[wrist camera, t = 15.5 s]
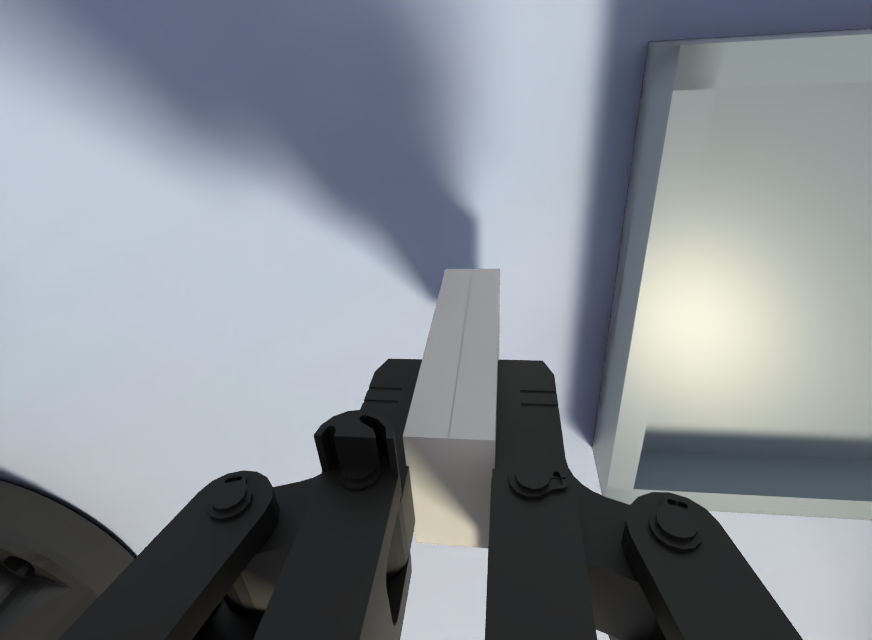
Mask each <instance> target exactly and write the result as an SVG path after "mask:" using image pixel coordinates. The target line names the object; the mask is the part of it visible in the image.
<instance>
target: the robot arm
mask: <svg viewBox="0 0 872 640" xmlns="http://www.w3.org/2000/svg"><path fill="white" fill-rule="evenodd" d="M499 327H500V269H445V272H444V276H443V280H442V284H441V288H440V292H439V296H438V300H437V304H436V308H435V311H434V315H433V319H432V323H431V327H430V331H429V335H428V339H427V343H426V347H425V351H424V355H423V359H422V360H420V359H388V360H387V361H386V362H385V363H384V364H383V365H382V366H380V367H379V368H378V369H377V370H376V371H375V373H374V375H373V378H372V381H371V383H370V386H369V390H368V391H367V394H366V396H365V399H364V403H363V404H362V407H361V409H360V410H355V411H347V412H345V413H342V414H339V415H336V416H333V417H332V418H331V419H329V420H328V421H326V422H325V423H323V424H322V425H321V426H320V427H319V429H318V430H317V431H316V433H315V434H314V439H315V443H316V447H317V451H318V455H319V459H320V463H321V467H322V474H320V475H318V476H316V477H314V478H311V479H307V480H304V481H300V482H296V483H291V484H286V485H281V486H277V487H272V485H271V483H270V482H269V480H268V478H267V477H265V476H264V475H262V474H260V473H258V472H253V471H239V472H234V473H229V474H226V475H224V476H222V477H220V478H218V479H216V480H214V481H212V482H211V483H209V484H208V485H207V486H206V487H204V488H203V489H202V490H201V491H199V492H198V493H197V495H196V496H195V497H194V498H193V499H192V500H191V501H190V502H189V503H188V504H187V505H186V506H185V507H184V508H183V509H182V510H181V511H180V512H179V513H178V514H177V515H176V516H175V517H174V519H173V520H172V521H171V522H170V523H169V524H168V525H167V526H166V527H165V528H164V529H163V530H162V531H161V532H160V533H159V534H158V535H157V536H156V537H155V538H154V539H153V540H152V541H151V543H150V544H149V545H148V546H147V547H146V548H145V549H144V550H143V551H142V552H141V553H140V554H139V555H138V556H137V557H136V558H135V559H134V558H133V557H132V555H131V554H130V553H129V552H128V551H127V550H125V549H124V548H123V547H122V546H121V545H120V544H119V543H118V542H117V541H115V540H114V539H113V538H112V537H111V536H109V535H108V534H107V533H105V532H104V531H103V530H101V529H100V528H99V527H97V526H96V525H94V524H93V523H91V522H90V521H88V520H87V519H85V518H83V517H82V516H80V515H79V514H77V513H75V512H73V511H72V510H70V509H68V508H66V507H64V506H62V505H61V504H59V503H57V502H55V501H53V500H50V499H48V498H46V497H44V496H42V495H39V494H37V493H35V492H32V491H30V490H27V489H25V488H22V487H19V486H17V485H14V484H10V483H7V482H4V481H1V480H0V640H400V636H401V631H402V625H403V619H404V613H405V607H406V601H407V596H408V590H409V584H410V578H411V572H412V569H411V555H410V548H411V542H412V537H413V532H415V540H416V543H424V544H437V545H451V546H465V547H478V548H489V549H488V575H487V601H486V627H485V640H597V636H596V629H597V630H599V631H601V632H603V633H606V634H608V635H609V638H610V640H803V639H802V638H801V636H800V635H799V633H798V632H797V631H796V629H795V628H794V626H793V625H792V624H791V622H790V621H789V619H788V618H787V617H786V615H785V614H784V612H783V611H782V610H781V608H780V607H779V605H778V604H777V603H776V601H775V600H774V598H773V597H772V596H771V594H770V593H769V592H768V590H767V589H766V587H765V586H764V585H763V583H762V582H761V580H760V579H759V578H758V576H757V575H756V573H755V572H754V571H753V569H752V568H751V566H750V565H749V564H748V562H747V561H746V559H745V558H744V557H743V555H742V554H741V552H740V551H739V550H738V548H737V547H736V545H735V544H734V543H733V541H732V540H731V539H730V537H729V536H728V534H727V533H726V532H725V530H724V529H723V527H722V526H721V525H720V523H719V522H718V521H717V520H716V519H715V518H714V517H713V516H712V515H711V514H710V513H709V512H708V511H707V510H706V509H705V508H704V507H702V506H701V505H699V504H697V503H696V502H694V501H692V500H691V499H689V498H686V497H683V496H680V495H676V494H673V493H670V492H651V493H648V494H645V495H642V496H639V497H637V498H636V499H635V500H634V501H633V502H632V503H631V504H630V505H629V504H626V503H623V502H620V501H617V500H614V499H611V498H607V497H605V496H602V495H600V494H598V493H595V492H593V491H591V490H590V489H588V488H587V487H585V486H584V485H582V484H581V483H580V482H579V481H578V480H577V479H576V478H575V477H574V476H573V474H572V473H571V471H570V470H569V468H568V465H567V462H566V459H565V452H564V445H563V437H562V430H561V422H560V415H559V408H558V400H557V394H556V386H555V378H554V374H553V373H552V372H551V370H550V369H549V368H548V367H547V366H546V364H545V363H544V362H543V361H531V360H499Z"/></svg>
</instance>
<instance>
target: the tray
mask: <svg viewBox="0 0 872 640" xmlns="http://www.w3.org/2000/svg"><path fill="white" fill-rule="evenodd" d="M592 449H593V454H594V459H595V464H596V469H597V473H598V478H599V483H600V488H601V493H602V496H605V497H607V498H611V499H614V500H617V501H620V502H623V503H626V504H629V505H630V504H631V503H632V502H633V501H634V500H635V499H636V498H637V497H639V496H642V495H645V494H648V493H651V492H670V493H673V494H676V495H680V496H683V497H686V498H689V499H691V500H692V501H694V502H696V503H697V504H699V505H701V506H702V507H704V508H705V509H706V510H707V511H720V512H737V513H755V514H772V515H790V516H807V517H825V518H842V519H860V520H872V29H855V30H839V31H822V32H805V33H789V34H772V35H755V36H739V37H722V38H705V39H689V40H672V41H655V42H648V47H647V54H646V62H645V69H644V76H643V84H642V91H641V98H640V105H639V113H638V120H637V127H636V134H635V142H634V149H633V156H632V164H631V171H630V178H629V185H628V193H627V200H626V207H625V215H624V222H623V229H622V236H621V244H620V251H619V258H618V266H617V273H616V280H615V287H614V295H613V302H612V309H611V316H610V324H609V331H608V338H607V346H606V353H605V360H604V367H603V375H602V382H601V389H600V397H599V404H598V411H597V418H596V426H595V433H594V440H593V447H592Z"/></svg>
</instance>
